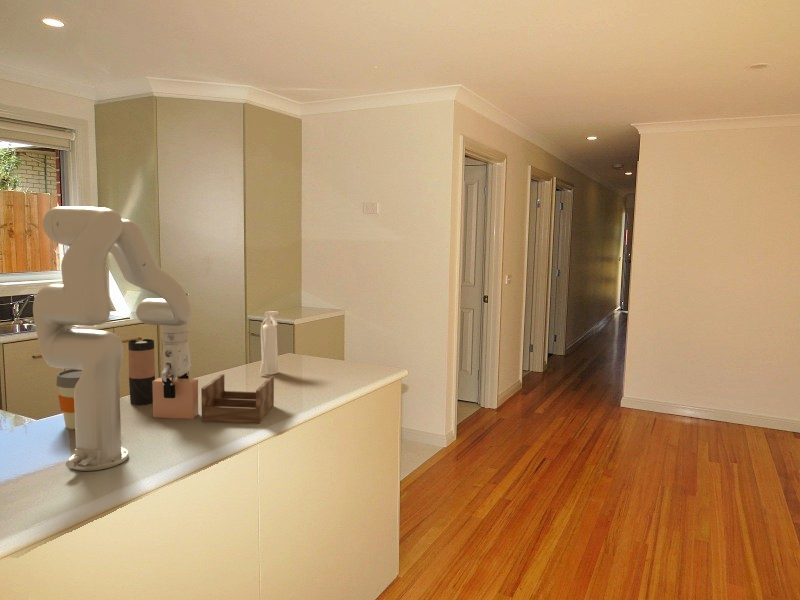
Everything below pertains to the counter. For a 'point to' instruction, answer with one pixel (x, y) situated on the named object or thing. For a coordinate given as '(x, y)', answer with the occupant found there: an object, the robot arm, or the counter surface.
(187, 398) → the peach rectangular block
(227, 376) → the counter surface
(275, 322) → the white spray bottle
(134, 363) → the travel mug
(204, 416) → the wooden crate
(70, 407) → the reusable coffee cup
